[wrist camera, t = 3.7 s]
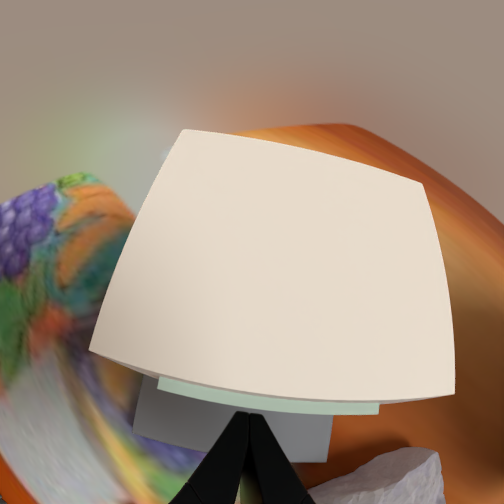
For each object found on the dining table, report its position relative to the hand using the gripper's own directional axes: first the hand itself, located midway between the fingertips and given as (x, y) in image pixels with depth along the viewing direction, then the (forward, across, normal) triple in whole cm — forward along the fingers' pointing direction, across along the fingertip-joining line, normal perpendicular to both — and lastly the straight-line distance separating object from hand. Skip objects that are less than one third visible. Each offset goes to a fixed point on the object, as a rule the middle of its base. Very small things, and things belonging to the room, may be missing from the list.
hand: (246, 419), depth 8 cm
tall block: (+7, 0, +2) cm, 7 cm away
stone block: (-1, -11, +12) cm, 16 cm away
